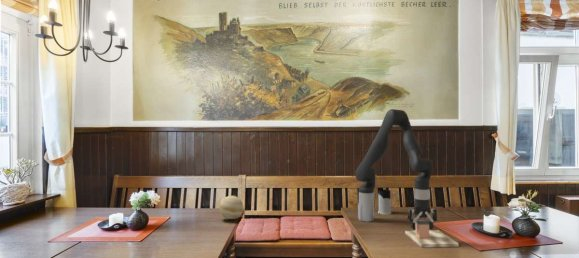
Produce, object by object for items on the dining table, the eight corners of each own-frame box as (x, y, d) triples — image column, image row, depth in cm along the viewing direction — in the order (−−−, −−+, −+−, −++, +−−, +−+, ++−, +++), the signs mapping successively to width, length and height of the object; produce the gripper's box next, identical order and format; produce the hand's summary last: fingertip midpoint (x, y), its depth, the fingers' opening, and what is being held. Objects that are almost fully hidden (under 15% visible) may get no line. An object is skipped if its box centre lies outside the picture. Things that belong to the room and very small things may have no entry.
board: (421, 247, 170) (421, 244, 170) (405, 233, 192) (405, 230, 192) (458, 246, 170) (458, 243, 170) (438, 232, 192) (438, 230, 192)
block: (419, 238, 178) (419, 222, 178) (415, 235, 183) (415, 220, 183) (429, 238, 178) (429, 222, 178) (425, 235, 183) (425, 219, 183)
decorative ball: (214, 220, 225) (214, 196, 224) (232, 215, 236) (232, 192, 236) (229, 224, 215) (229, 199, 215) (248, 218, 226) (248, 195, 226)
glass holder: (376, 211, 241) (375, 189, 241) (396, 210, 243) (395, 188, 243) (380, 214, 233) (380, 191, 233) (401, 213, 234) (401, 191, 234)
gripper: (410, 199, 177) (411, 231, 177) (439, 198, 177) (439, 231, 177) (405, 196, 184) (405, 227, 184) (432, 195, 185) (433, 227, 185)
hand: (422, 229), depth 181 cm, fingers open, 8 cm apart
